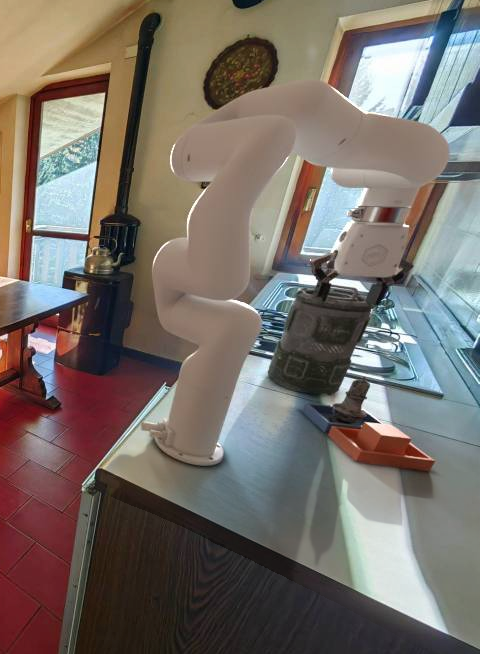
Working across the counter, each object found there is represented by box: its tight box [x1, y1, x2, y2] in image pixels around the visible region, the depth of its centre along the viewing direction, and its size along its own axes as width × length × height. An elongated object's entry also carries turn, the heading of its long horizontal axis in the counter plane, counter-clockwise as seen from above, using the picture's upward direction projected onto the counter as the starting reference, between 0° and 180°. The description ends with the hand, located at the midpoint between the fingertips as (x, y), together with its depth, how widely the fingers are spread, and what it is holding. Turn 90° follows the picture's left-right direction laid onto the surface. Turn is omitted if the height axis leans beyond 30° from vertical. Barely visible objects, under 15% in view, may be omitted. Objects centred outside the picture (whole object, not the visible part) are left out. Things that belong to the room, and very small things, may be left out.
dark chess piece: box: [328, 376, 371, 425], centre depth 87 cm, size 6×6×12 cm
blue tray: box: [301, 402, 385, 434], centre depth 89 cm, size 12×9×2 cm
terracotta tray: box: [327, 426, 436, 472], centre depth 80 cm, size 12×9×2 cm
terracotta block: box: [355, 422, 412, 455], centre depth 79 cm, size 5×5×5 cm
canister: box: [267, 284, 377, 396], centre depth 104 cm, size 16×16×28 cm
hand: (344, 301), depth 82 cm, fingers open, 9 cm apart
